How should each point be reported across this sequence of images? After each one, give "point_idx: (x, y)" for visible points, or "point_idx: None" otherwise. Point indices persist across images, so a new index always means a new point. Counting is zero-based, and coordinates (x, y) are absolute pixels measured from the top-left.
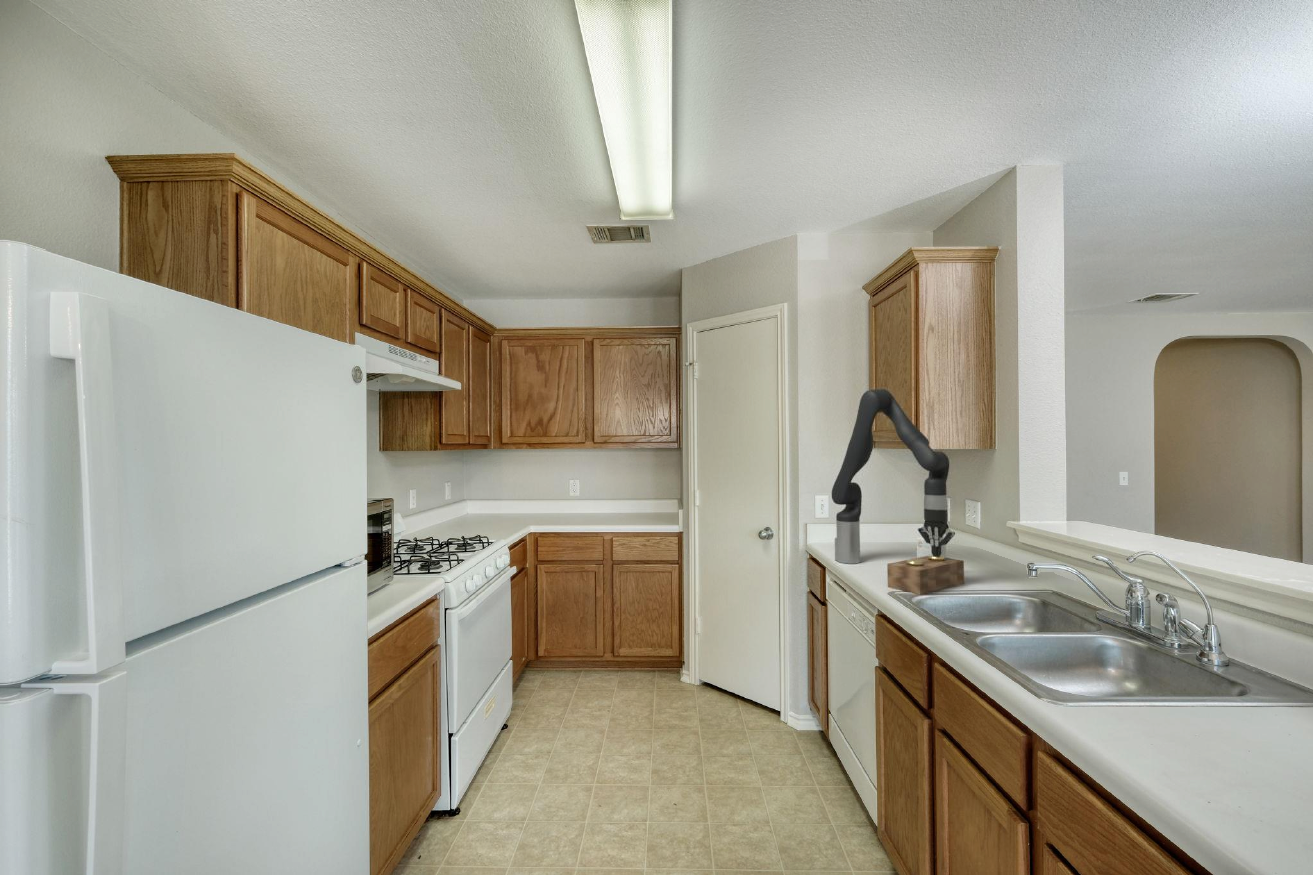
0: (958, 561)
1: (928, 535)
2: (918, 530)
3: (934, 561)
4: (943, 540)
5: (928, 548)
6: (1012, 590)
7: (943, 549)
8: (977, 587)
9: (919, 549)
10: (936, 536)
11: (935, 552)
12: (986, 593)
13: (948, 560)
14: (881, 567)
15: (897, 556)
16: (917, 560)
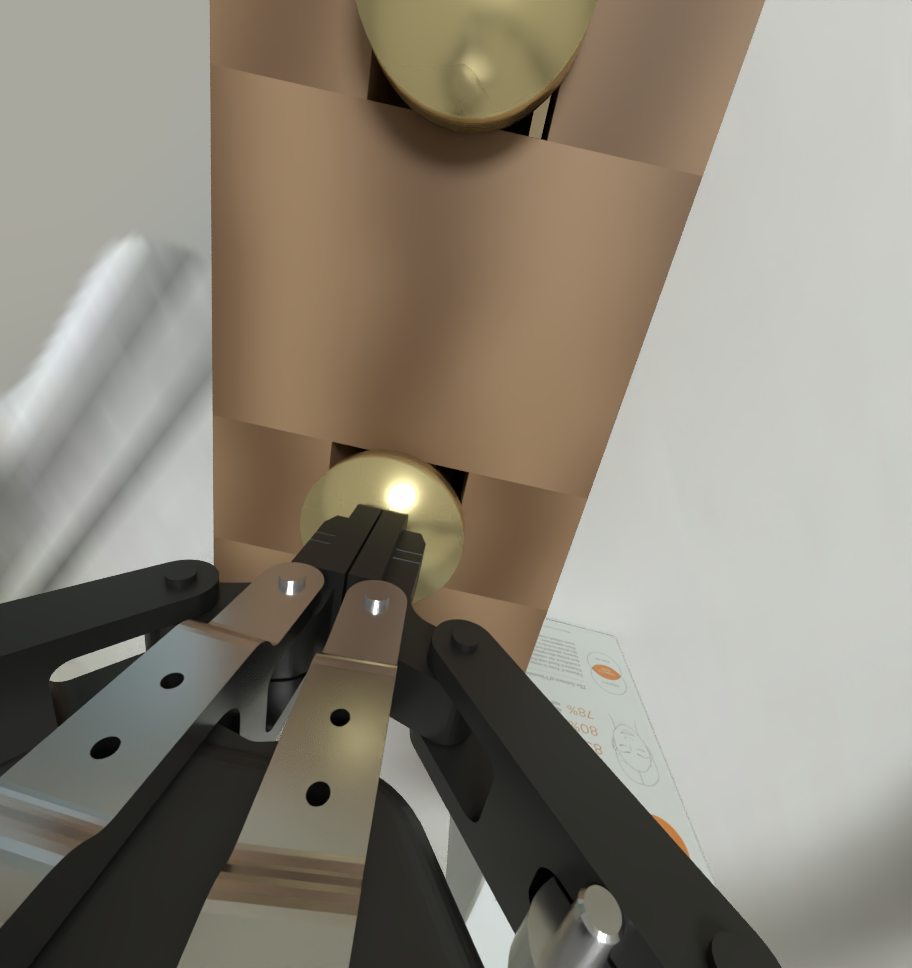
0: (224, 578)
1: (474, 828)
2: (752, 945)
3: (374, 429)
4: (80, 612)
5: None
6: (72, 545)
7: (454, 835)
8: (209, 491)
9: (651, 788)
10: (188, 697)
11: (360, 525)
12: (100, 376)
13: None
14: (864, 628)
15: (805, 900)
16: (465, 84)
